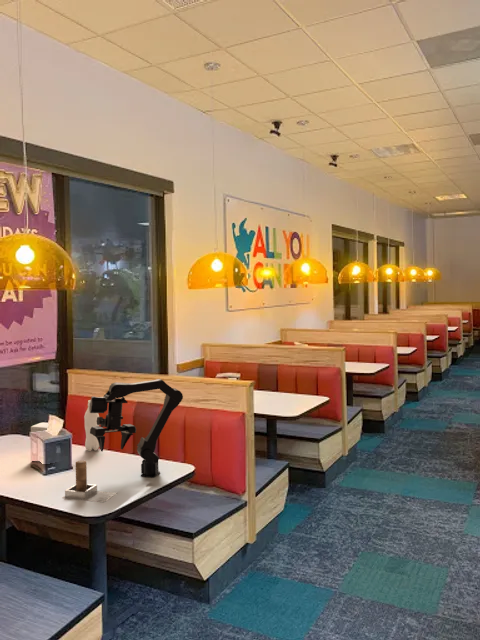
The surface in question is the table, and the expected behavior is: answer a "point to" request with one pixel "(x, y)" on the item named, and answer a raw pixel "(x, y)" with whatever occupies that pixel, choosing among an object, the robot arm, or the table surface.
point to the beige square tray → (81, 492)
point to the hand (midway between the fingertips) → (111, 450)
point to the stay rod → (81, 476)
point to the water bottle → (90, 422)
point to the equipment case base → (97, 496)
